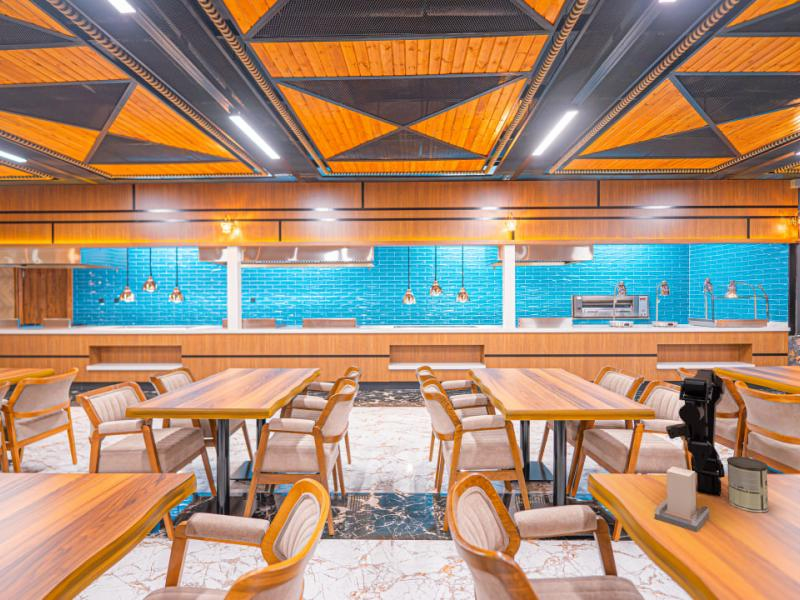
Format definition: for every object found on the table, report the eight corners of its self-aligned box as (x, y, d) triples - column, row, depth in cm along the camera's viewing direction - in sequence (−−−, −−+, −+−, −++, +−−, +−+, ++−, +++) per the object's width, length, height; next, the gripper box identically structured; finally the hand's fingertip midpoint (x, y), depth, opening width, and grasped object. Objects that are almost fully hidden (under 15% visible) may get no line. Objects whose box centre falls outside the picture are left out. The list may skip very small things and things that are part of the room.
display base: (697, 531, 126) (696, 521, 126) (654, 518, 134) (654, 508, 134) (709, 517, 135) (708, 507, 135) (668, 505, 143) (668, 496, 143)
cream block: (673, 506, 138) (672, 466, 139) (695, 512, 134) (695, 471, 134) (667, 512, 134) (666, 471, 135) (690, 519, 130) (689, 476, 130)
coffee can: (724, 496, 149) (723, 454, 149) (762, 502, 145) (761, 458, 145) (732, 509, 140) (731, 464, 140) (773, 515, 135) (772, 469, 136)
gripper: (666, 409, 154) (667, 454, 154) (668, 421, 138) (669, 471, 137) (704, 412, 149) (705, 459, 148) (711, 425, 132) (712, 478, 132)
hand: (697, 466), depth 142 cm, fingers open, 9 cm apart
